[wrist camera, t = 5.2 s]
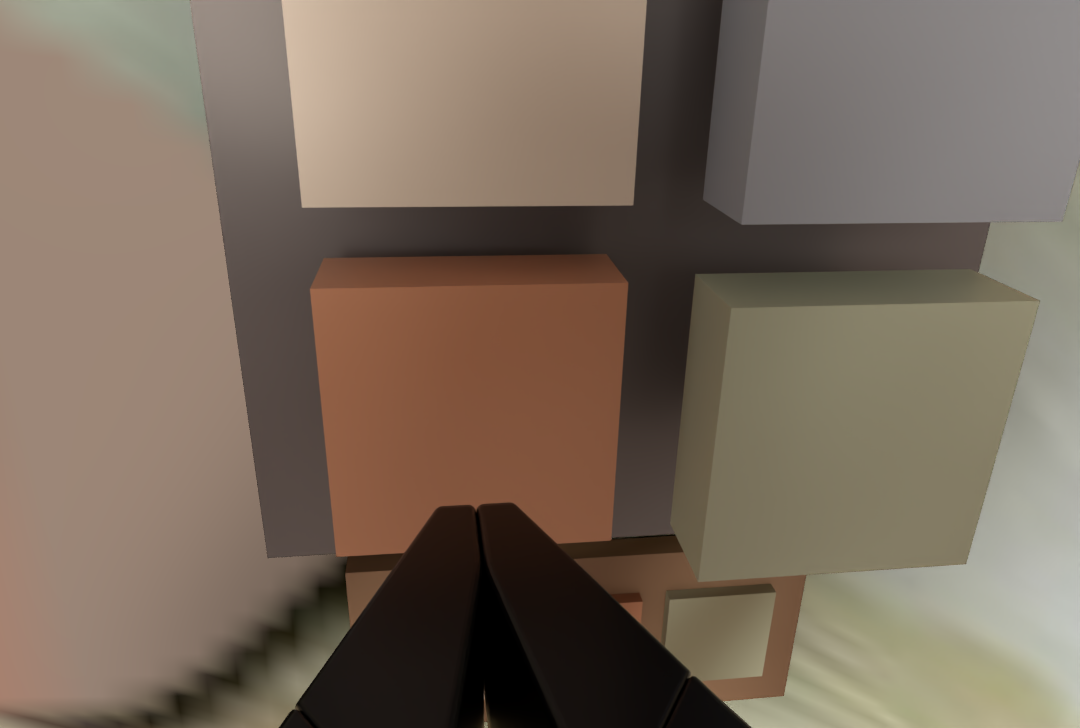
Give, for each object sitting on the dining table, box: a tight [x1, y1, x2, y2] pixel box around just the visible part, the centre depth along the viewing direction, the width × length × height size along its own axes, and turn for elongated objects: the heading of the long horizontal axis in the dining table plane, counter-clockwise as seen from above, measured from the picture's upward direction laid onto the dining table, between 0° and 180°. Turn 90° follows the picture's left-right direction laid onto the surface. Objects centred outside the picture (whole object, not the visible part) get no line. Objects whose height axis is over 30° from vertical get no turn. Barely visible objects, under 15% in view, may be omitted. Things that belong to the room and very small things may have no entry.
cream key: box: [282, 0, 647, 208], centre depth 11 cm, size 4×4×4 cm
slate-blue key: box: [703, 0, 1080, 225], centre depth 10 cm, size 4×4×4 cm
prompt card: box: [345, 536, 806, 722], centre depth 18 cm, size 10×4×1 cm, turn 89°
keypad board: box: [190, 0, 990, 558], centre depth 13 cm, size 12×12×2 cm
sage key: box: [670, 269, 1040, 582], centre depth 12 cm, size 4×4×4 cm
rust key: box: [310, 254, 628, 557], centre depth 13 cm, size 4×4×4 cm
